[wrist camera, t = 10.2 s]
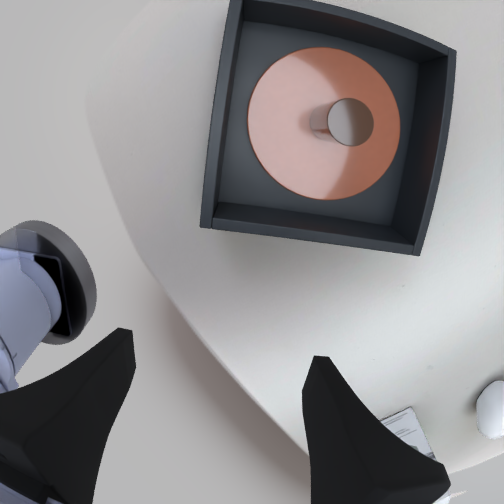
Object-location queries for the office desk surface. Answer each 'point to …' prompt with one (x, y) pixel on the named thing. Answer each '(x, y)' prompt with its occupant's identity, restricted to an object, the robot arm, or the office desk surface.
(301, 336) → the office desk surface
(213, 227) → the charcoal square tray
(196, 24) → the office desk surface
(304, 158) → the knobbed copper disc
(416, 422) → the ink box
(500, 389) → the plain white apple
